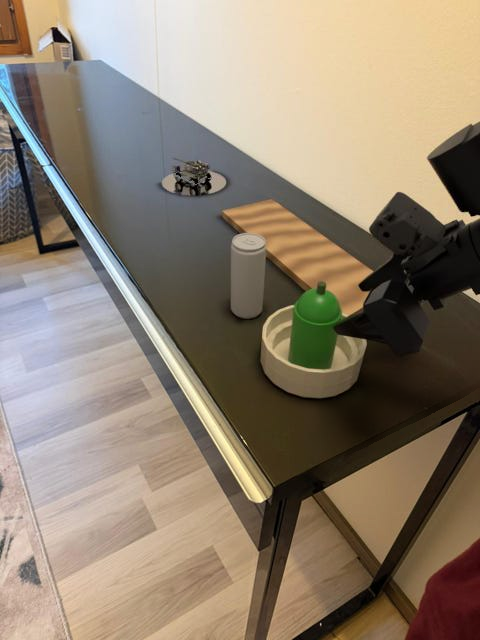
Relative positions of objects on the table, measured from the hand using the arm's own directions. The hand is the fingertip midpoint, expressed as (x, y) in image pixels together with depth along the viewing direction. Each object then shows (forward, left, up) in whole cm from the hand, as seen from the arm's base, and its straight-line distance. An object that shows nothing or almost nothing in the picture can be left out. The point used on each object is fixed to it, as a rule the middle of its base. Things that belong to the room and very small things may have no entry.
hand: (348, 307), depth 53 cm
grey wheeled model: (+46, -47, -11) cm, 67 cm away
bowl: (+4, 0, -11) cm, 11 cm away
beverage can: (+16, -7, -11) cm, 20 cm away
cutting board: (+13, -26, -11) cm, 31 cm away
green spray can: (+4, 0, -10) cm, 11 cm away
